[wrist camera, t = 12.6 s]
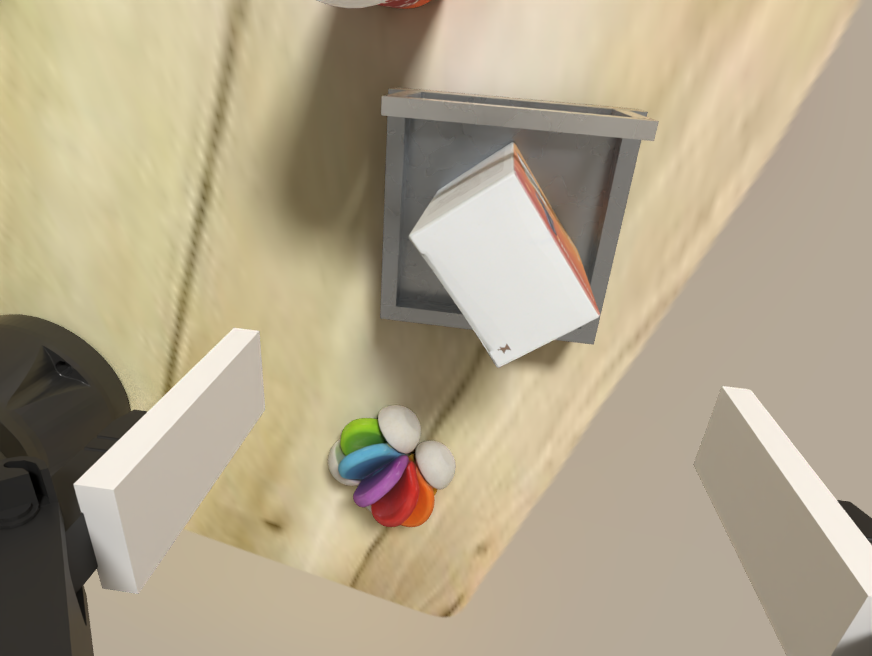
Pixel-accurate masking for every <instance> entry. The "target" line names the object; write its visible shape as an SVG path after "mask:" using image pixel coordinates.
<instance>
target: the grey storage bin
mask: <svg viewBox="0 0 872 656" xmlns="http://www.w3.org/2000/svg"><path fill="white" fill-rule="evenodd" d="M647 113H648V112H645V111H642V110H639V109H632V108H621V107H609V106H598V105H587V104H576V103H565V102H554V101H543V100H532V99H521V98H510V97H499V96H487V95H476V94H465V93H454V92H443V91H432V90H421V89H410V88H399V87H396V88H390V89H388V95H384V96H382V101H381V115H383V116H388V117H387V145H386V173H385V201H384V230H383V258H382V286H381V314H380V318H381V319H389V320H397V321H406V322H414V323H422V324H430V325H438V326H446V327H455V328H463V329H471V330H473V329H472V327H471V326H470V324H469V323H468V321H467V320H466V318H465V317H464V315H463V314H462V312H461V311H460V309H459V308H458V306H457V305H456V304H455V302H454V301H453V299H452V298H451V296H450V295H449V293H448V292H447V291H446V289H445V288H444V286H443V285H442V283H441V282H440V280H439V279H438V277H437V276H436V275H435V273H434V272H433V270H432V269H431V267H430V266H429V265H428V263H427V262H426V260H425V259H424V258H423V256H422V255H421V254H420V252H419V251H418V250H417V249H416V247H415V246H414V245H413V243H412V242H411V241H410V239H409V235H410V233H411V231H412V230H413V228H414V227H415V225H416V224H417V222H418V221H419V219H420V218H421V216H422V214H423V213H424V211H425V210H426V208H427V206H428V205H429V203H430V202H431V200H432V199H433V197H434V196H435V194H436V193H437V191H438V190H439V189H441V188H442V187H444V186H445V185H447V184H448V183H450V182H451V181H453V180H454V179H456V178H457V177H459V176H460V175H462V174H463V173H465V172H466V171H468V170H470V169H471V168H473V167H474V166H476V165H477V164H479V163H480V162H482V161H483V160H485V159H486V158H488V157H489V156H491V155H493V154H494V153H496V152H497V151H499V150H500V149H502V148H503V147H505V146H507V145H508V144H510V143H512V142H513V143H515V144H516V146H517V148H518V149H519V151H520V153H521V154H522V156H523V158H524V160H525V161H526V163H527V165H528V167H529V168H530V170H531V172H532V174H533V175H534V177H535V179H536V181H537V182H538V184H539V186H540V188H541V189H542V191H543V193H544V195H545V197H546V198H547V200H548V202H549V204H550V205H551V207H552V209H553V211H554V212H555V214H556V216H557V217H558V219H559V221H560V223H561V224H562V226H563V228H564V229H565V231H566V232H567V234H568V235H569V237H570V239H571V240H572V242H573V244H574V245H575V247H576V248H577V250H578V253H579V256H580V258H581V261H582V264H583V267H584V270H585V273H586V276H587V278H588V281H589V284H590V287H591V290H592V293H593V296H594V299H595V302H596V305H597V307H598V310H599V312H600V315H601V311H602V306H603V302H604V298H605V294H606V289H607V285H608V281H609V276H610V272H611V268H612V263H613V259H614V255H615V250H616V246H617V242H618V238H619V233H620V229H621V225H622V220H623V216H624V212H625V207H626V203H627V199H628V194H629V190H630V186H631V182H632V177H633V173H634V169H635V164H636V160H637V156H638V151H639V147H640V143H641V140H649V141H654V139H655V134H656V130H657V126H658V122H659V121H656V120H654V119H651V118H648V117H647ZM599 319H600V316H599V317H598V318H597V319H594V320H592V321H590V322H589V323H587V324H585V325H583V326H581V327H579V328H577V329H575V330H573V331H571V332H569V333H567V334H565V335H563V336H561V337H559V338H557V339H555V340H561V341H569V342H577V343H585V344H594V341H595V337H596V332H597V328H598V324H599Z"/></svg>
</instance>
